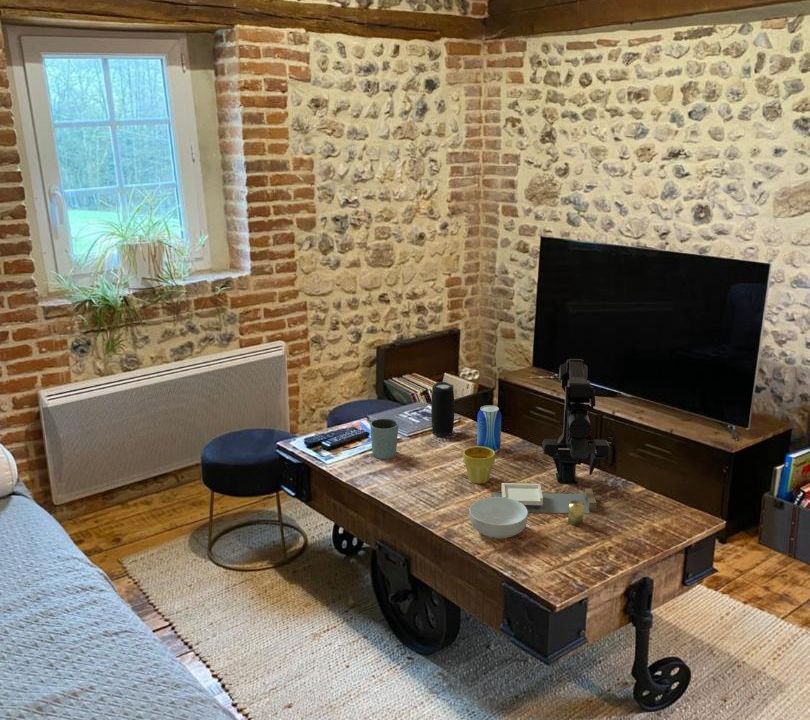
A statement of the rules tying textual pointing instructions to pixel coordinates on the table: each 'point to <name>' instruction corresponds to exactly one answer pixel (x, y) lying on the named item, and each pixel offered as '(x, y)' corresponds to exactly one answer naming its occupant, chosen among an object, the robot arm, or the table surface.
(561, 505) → the mat
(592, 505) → the end stop
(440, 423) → the portable speaker
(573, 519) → the solid brass cylinder
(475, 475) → the plant pot
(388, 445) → the green cup
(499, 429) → the beer can
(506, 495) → the shallow square tray
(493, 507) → the cereal bowl
